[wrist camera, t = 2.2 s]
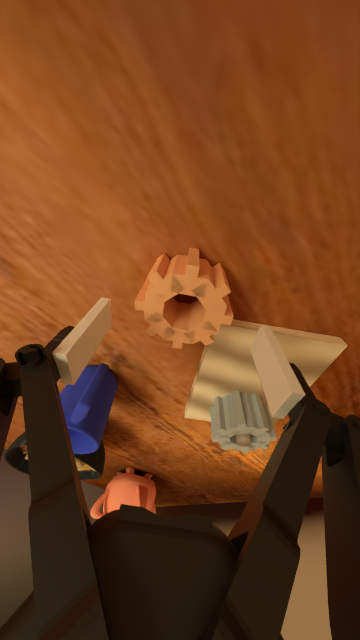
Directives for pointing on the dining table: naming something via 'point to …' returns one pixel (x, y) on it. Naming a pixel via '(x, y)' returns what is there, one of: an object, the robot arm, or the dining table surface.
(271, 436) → the gear
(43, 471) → the robot arm
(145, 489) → the teapot
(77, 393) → the mug
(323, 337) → the board
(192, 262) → the gear
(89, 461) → the bowl
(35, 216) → the dining table surface
